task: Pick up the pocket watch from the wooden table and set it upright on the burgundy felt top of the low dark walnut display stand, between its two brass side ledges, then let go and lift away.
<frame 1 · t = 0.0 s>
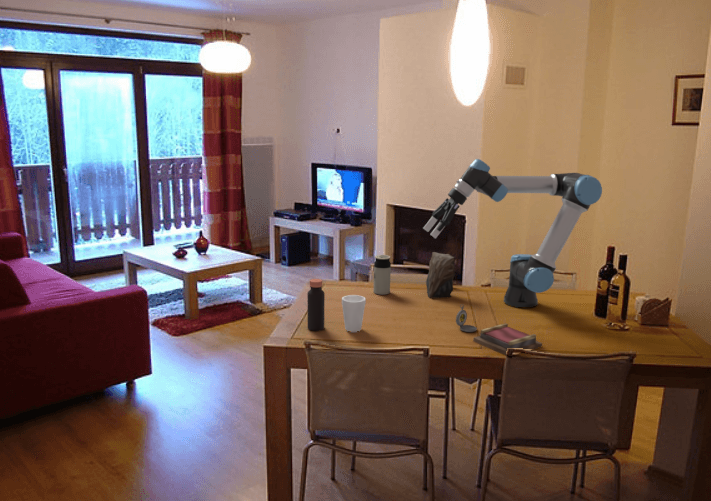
hand: (429, 233, 250), 36 cm above the table, tool tilted 35°, fingers open, 13 cm apart
grey rough lump: (436, 295, 286), on the table
travel mug: (381, 293, 289), on the table
foam cup: (353, 329, 239), on the table
display stand: (507, 344, 227), on the table
bottle: (315, 328, 240), on the table
pocket watch: (465, 329, 242), on the table
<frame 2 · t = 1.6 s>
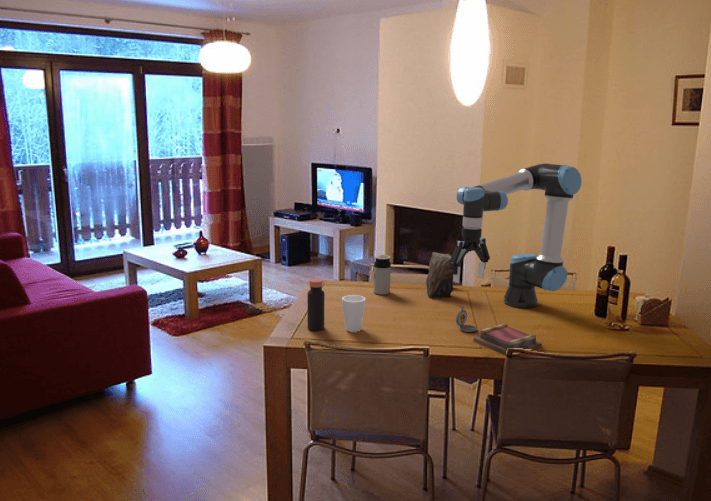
hand: (468, 279, 237), 21 cm above the table, tool pointing down, fingers open, 13 cm apart
nothing on the table moved.
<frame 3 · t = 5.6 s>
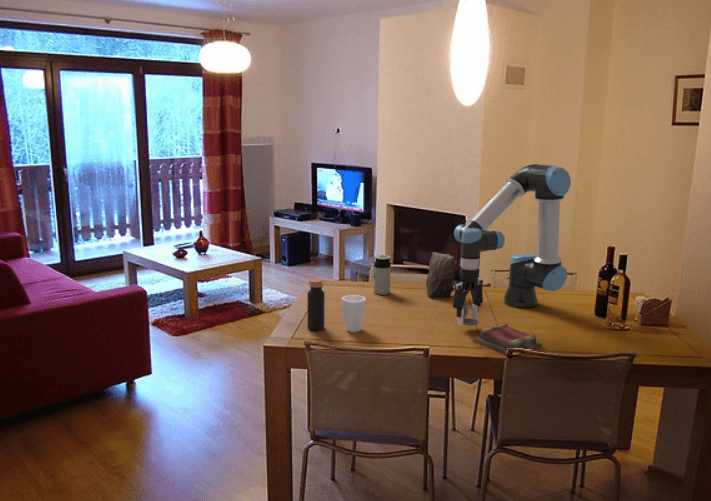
hand: (467, 322, 241), 3 cm above the table, tool pointing down, fingers closed on pocket watch, 7 cm apart
pocket watch: (467, 323, 241), point 2 cm above the table, touching gripper
everything else where it was.
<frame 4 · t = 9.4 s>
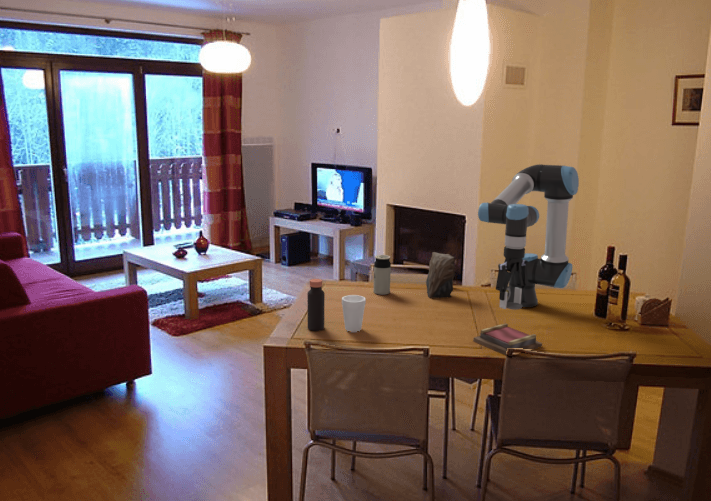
hand: (510, 306, 224), 15 cm above the table, tool pointing down, fingers closed on pocket watch, 7 cm apart
pocket watch: (510, 307, 224), point 15 cm above the table, touching gripper
everything else where it was.
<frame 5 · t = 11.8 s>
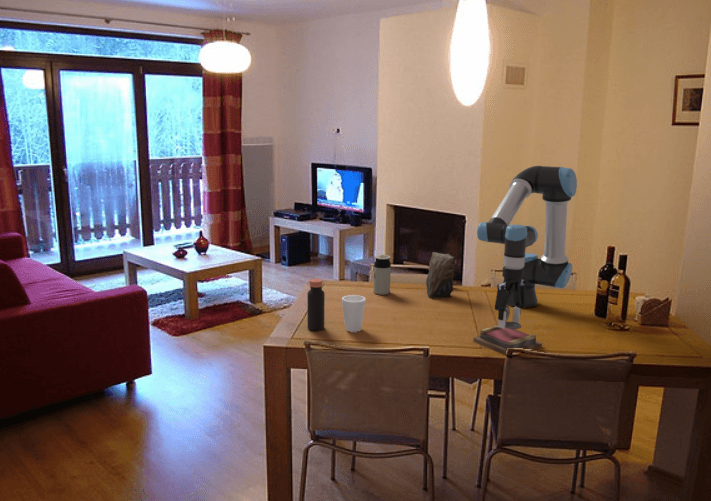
hand: (508, 325, 225), 7 cm above the table, tool pointing down, fingers closed on pocket watch, 7 cm apart
pocket watch: (509, 326, 225), point 7 cm above the table, touching gripper
everything else where it was.
when the fingers open (4 cm above the table, at t = 13.8 s): pocket watch stays where it is, resting on display stand.
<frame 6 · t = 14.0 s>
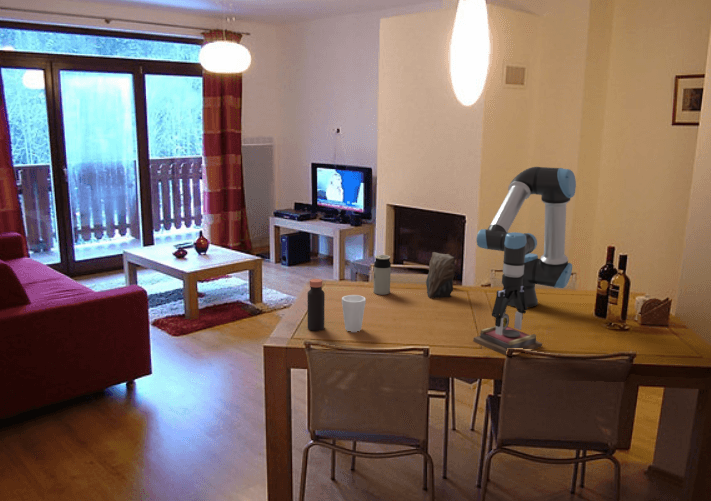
hand: (508, 331, 226), 5 cm above the table, tool pointing down, fingers open, 10 cm apart
pocket watch: (508, 334, 226), point 4 cm above the table, touching display stand
everything else where it was.
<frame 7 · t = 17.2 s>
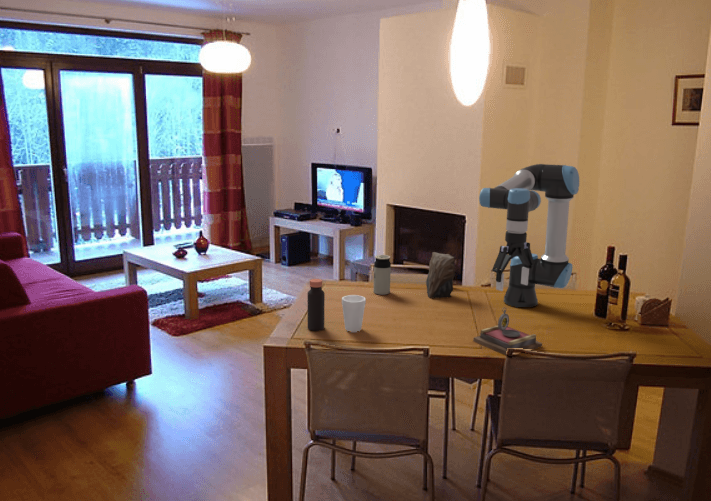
hand: (512, 287, 222), 22 cm above the table, tool pointing down, fingers open, 13 cm apart
nothing on the table moved.
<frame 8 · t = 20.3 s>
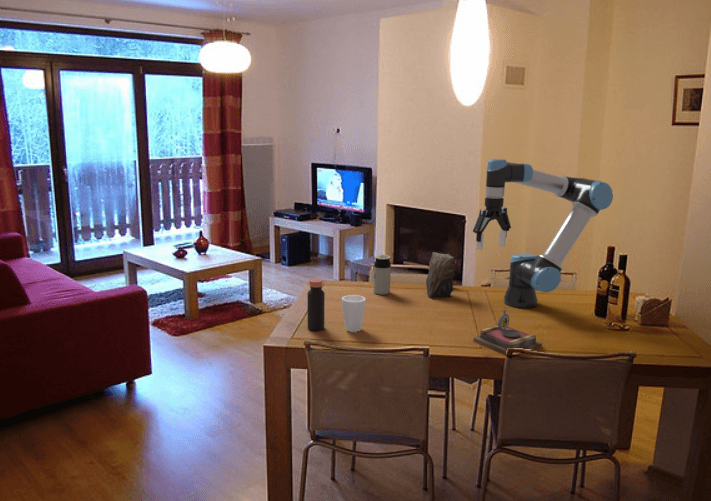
hand: (490, 247, 250), 31 cm above the table, tool pointing down, fingers open, 13 cm apart
nothing on the table moved.
at the end: pocket watch inside the target area on the display stand (0.2 cm from its centre), point 3.7 cm above the display stand's base; pocket watch tilted 0°; the gripper is holding nothing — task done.
